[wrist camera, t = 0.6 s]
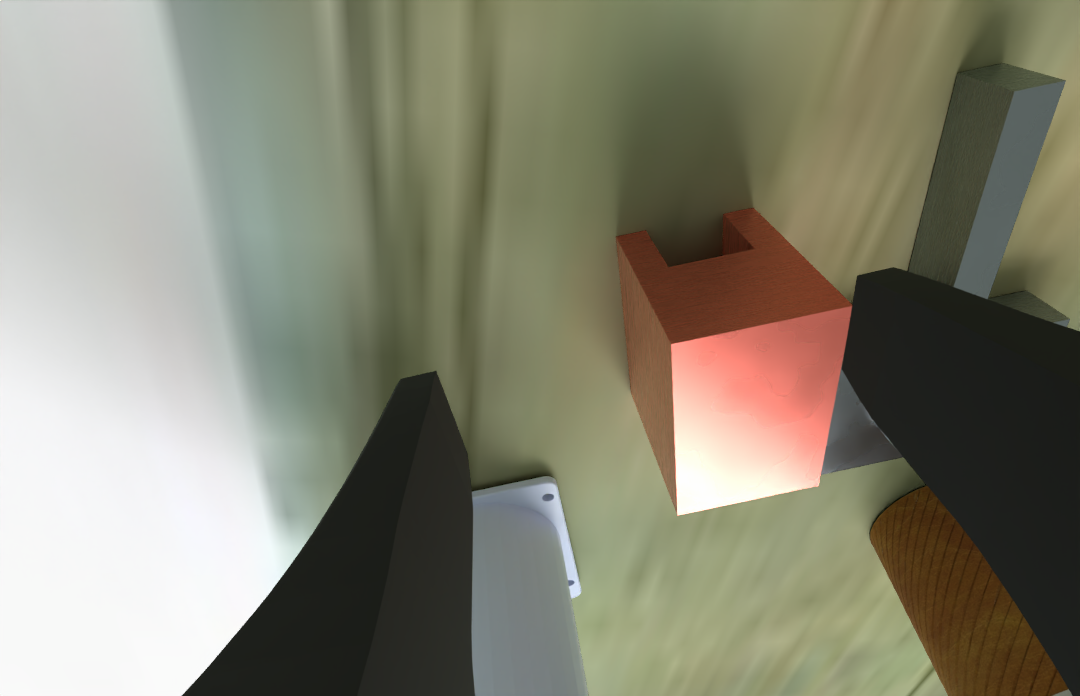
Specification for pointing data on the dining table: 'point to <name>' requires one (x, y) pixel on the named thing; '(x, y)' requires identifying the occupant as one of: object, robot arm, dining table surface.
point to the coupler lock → (733, 363)
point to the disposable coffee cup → (959, 604)
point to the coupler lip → (965, 218)
